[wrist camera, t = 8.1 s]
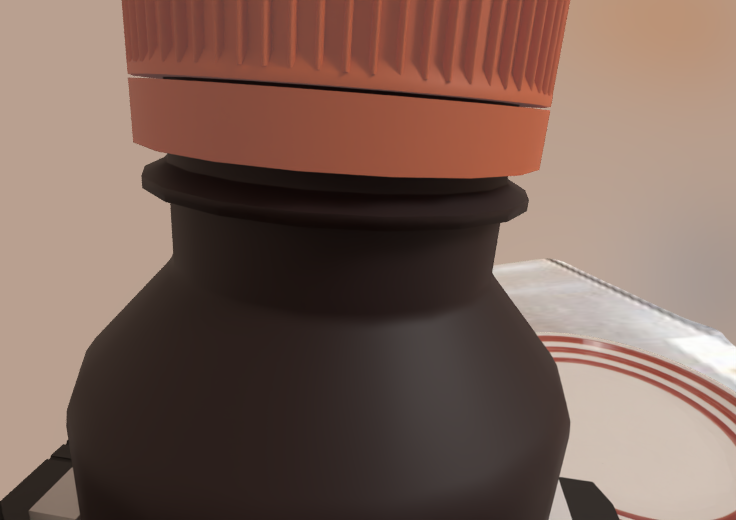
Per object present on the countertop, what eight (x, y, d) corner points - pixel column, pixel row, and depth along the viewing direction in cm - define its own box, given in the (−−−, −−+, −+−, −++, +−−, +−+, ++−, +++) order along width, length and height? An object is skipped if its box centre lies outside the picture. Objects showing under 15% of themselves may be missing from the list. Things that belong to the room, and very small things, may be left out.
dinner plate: (847, 700, 23) (875, 654, 22) (392, 445, 38) (396, 411, 37) (790, 429, 45) (803, 399, 44) (511, 333, 60) (516, 309, 59)
